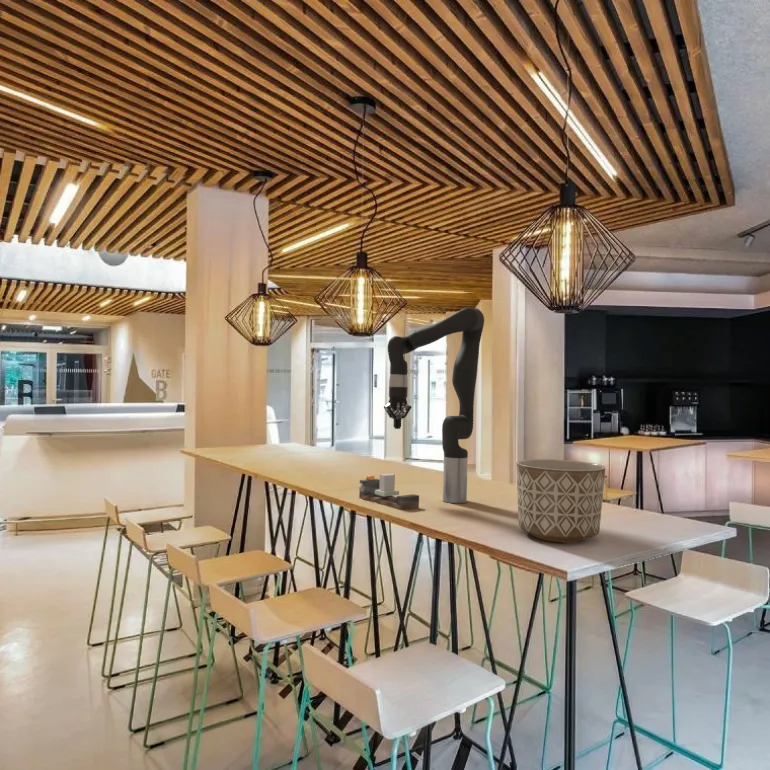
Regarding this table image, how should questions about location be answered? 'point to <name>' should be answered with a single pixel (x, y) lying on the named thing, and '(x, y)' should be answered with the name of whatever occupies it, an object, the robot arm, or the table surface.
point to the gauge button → (369, 477)
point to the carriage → (387, 485)
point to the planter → (560, 498)
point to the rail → (398, 502)
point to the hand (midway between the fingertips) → (397, 428)
